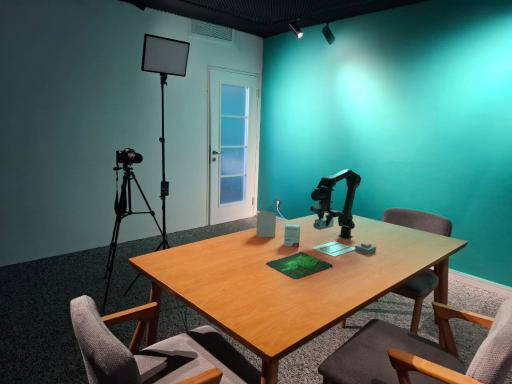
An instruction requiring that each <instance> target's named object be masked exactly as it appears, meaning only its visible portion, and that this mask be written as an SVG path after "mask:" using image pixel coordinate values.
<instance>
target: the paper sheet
mask: <svg viewBox="0 0 512 384" xmlns="http://www.w3.org/2000/svg"><path fill="white" fill-rule="evenodd" d="M312 250H315V251H318V252H320V253H323V254H325V255H328V256H330V257H333V258H336V257H339V256H341V255H344V254H348V253H351V252H354V251H355V247H352V246H350V245H347V244H345V243H342V242H338V241H335V240H334V241H331V242H328V243H324V244H321V245H317V246H314V247H312Z"/></svg>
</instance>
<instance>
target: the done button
mask: <svg viewBox="0 0 512 384" xmlns="http://www.w3.org/2000/svg"><path fill="white" fill-rule="evenodd" d="M360 244H361V246H363V247H366V248H369V247H371V245H372V243H369V242H367V241H364V242H361V243H360Z"/></svg>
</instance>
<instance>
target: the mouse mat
mask: <svg viewBox="0 0 512 384" xmlns="http://www.w3.org/2000/svg"><path fill="white" fill-rule="evenodd" d="M265 266H268V267H269V268H271V269H272V270H276V271H277V272H279V273H280V274H283V275H284V276H285V277H288V278H290V279H292V280H300V279H303V278H306V277H308V276H311V275H313V274H316V273H319V272H322V271H325V270H327V269H329V268H332V267H333V264H331V263H329V262H327V261H325V260H323V259H320V258H318V257H315V256H313V255H311V254H308V253H306V252H303V251H302V252H301V251H299V252H297V253H294V254H291V255H288V256H285V257H281V258H278V259H275V260H271V261H267V262H266V263H265Z"/></svg>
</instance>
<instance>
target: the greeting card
mask: <svg viewBox="0 0 512 384" xmlns="http://www.w3.org/2000/svg"><path fill="white" fill-rule="evenodd" d="M276 222H277V213H276V212H271V211H266V210H259V212H257V213H256V230H255V231H256V233H255V237H256V238H276V227H277V226H276V225H277V223H276Z"/></svg>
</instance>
